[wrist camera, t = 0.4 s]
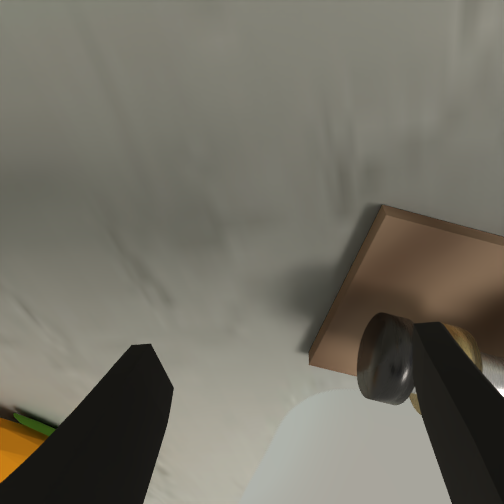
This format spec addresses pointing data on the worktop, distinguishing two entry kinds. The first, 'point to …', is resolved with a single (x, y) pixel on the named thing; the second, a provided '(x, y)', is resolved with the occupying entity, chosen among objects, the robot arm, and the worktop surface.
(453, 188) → the worktop surface
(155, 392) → the robot arm
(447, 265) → the base board
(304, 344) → the worktop surface
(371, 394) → the shaft
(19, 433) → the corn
